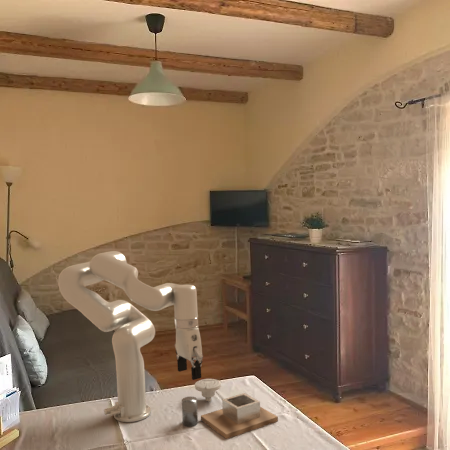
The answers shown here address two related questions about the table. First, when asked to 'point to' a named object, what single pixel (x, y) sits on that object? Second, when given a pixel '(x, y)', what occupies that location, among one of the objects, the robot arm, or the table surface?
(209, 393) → the showerhead
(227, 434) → the board
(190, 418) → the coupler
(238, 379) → the table surface
